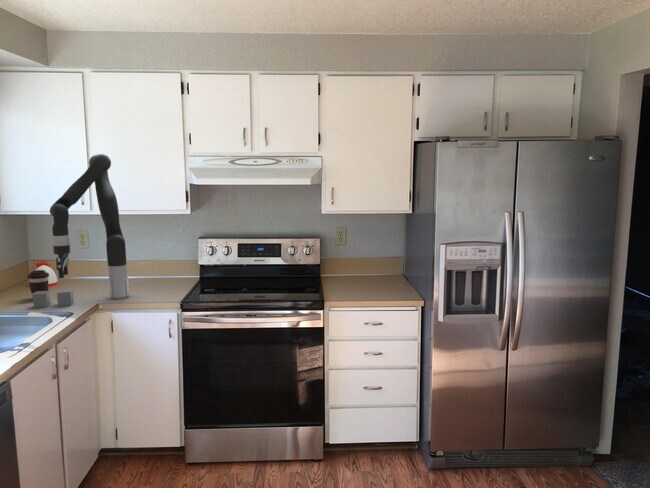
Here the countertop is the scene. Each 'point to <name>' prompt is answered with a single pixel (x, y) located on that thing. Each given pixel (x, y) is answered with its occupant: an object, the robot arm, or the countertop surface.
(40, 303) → the plain grey cube
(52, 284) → the kitchen timer
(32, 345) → the countertop surface
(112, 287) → the robot arm
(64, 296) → the matte grey cube
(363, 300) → the countertop surface
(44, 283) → the coffee cup
